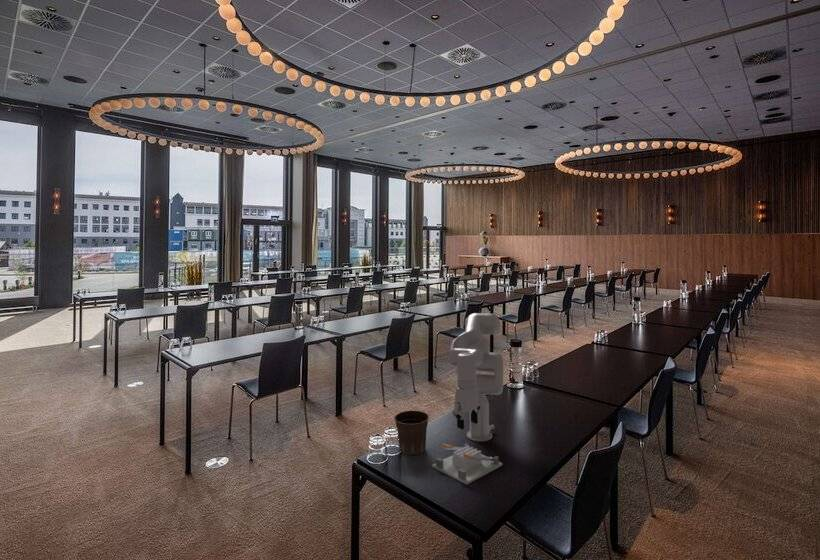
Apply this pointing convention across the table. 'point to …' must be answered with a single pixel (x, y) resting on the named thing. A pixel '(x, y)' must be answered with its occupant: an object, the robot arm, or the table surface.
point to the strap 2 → (471, 457)
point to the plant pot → (412, 431)
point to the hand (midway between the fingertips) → (467, 425)
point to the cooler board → (468, 473)
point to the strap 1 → (450, 447)
